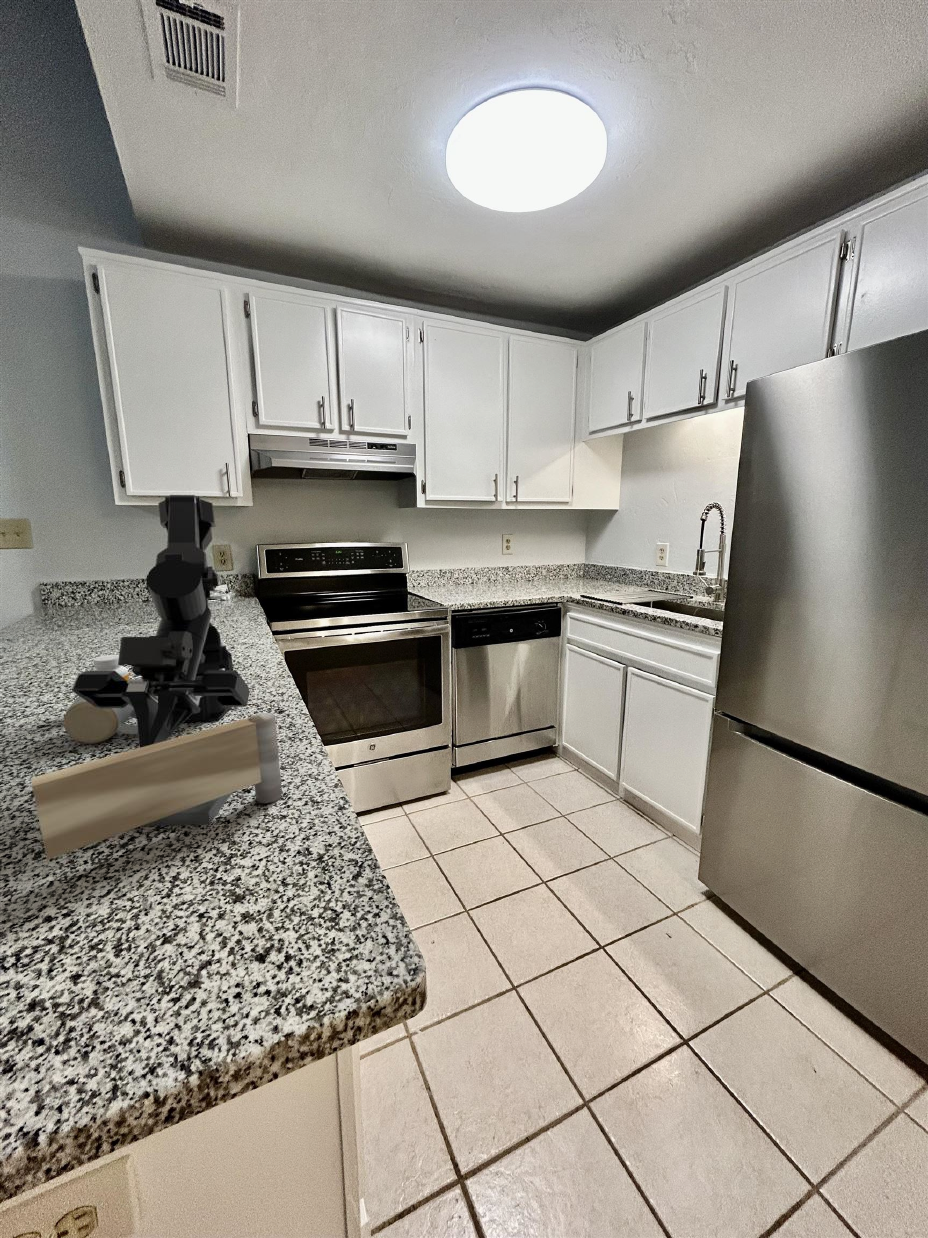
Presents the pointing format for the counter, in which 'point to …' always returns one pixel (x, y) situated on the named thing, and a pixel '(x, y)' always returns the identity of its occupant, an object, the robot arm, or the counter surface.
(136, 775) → the swing bar
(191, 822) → the panel
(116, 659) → the supplement bottle
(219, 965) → the counter surface
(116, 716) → the ceramic mug
